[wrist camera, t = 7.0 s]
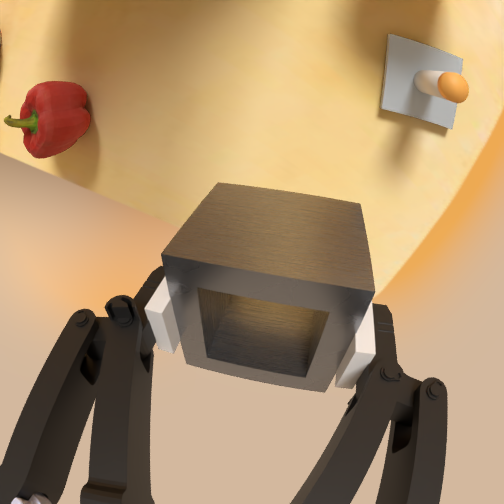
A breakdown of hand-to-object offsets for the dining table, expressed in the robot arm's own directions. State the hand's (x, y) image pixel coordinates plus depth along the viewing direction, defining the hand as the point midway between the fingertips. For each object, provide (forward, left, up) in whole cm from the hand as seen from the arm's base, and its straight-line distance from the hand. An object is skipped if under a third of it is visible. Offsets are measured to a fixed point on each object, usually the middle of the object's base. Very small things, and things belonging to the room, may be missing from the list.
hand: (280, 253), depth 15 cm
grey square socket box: (0, 0, 0) cm, 0 cm away
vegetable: (-31, +6, -18) cm, 36 cm away
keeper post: (+11, +11, -17) cm, 23 cm away
